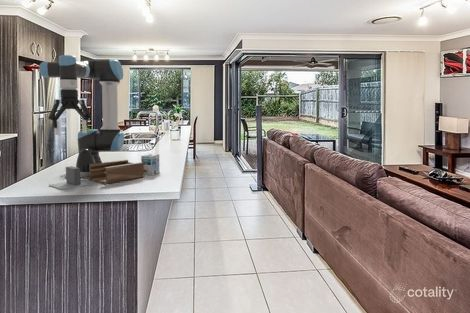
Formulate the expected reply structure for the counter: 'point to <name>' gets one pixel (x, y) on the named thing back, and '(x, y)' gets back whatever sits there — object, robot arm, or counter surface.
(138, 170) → the walnut box
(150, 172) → the light bulb box
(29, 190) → the counter surface
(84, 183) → the cover plate
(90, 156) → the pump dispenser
